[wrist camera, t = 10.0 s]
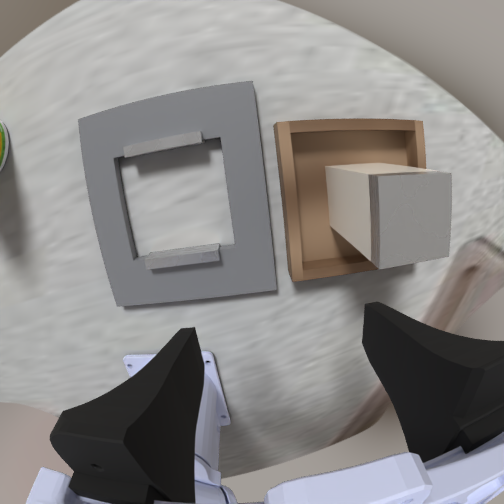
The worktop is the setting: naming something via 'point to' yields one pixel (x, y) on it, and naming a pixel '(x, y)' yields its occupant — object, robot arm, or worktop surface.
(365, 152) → the tray
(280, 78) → the worktop surface
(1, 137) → the supplement bottle
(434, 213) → the block
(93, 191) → the frame
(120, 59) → the worktop surface
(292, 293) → the worktop surface
